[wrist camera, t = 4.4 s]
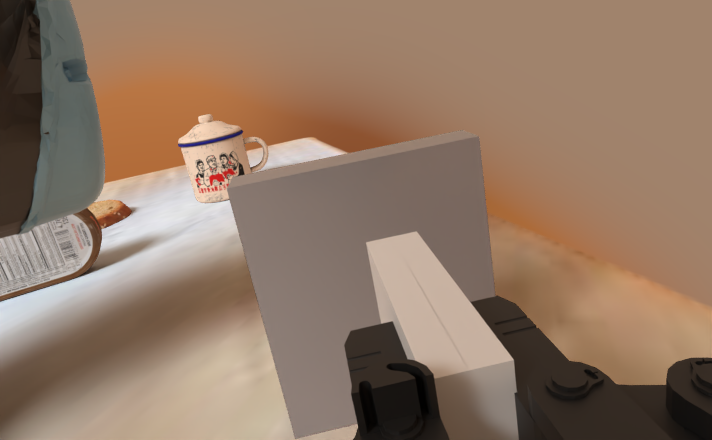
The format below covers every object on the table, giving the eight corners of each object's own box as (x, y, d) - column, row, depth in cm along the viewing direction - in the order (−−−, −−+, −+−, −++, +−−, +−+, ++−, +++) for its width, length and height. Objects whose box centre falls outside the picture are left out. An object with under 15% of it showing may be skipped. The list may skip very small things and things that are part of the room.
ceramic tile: (504, 388, 23) (479, 136, 19) (295, 438, 23) (226, 188, 19) (486, 361, 25) (460, 129, 22) (295, 406, 25) (233, 176, 21)
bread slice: (143, 210, 74) (135, 187, 73) (55, 260, 58) (43, 231, 57) (44, 224, 78) (35, 201, 77) (-64, 274, 62) (-78, 247, 60)
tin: (113, 260, 53) (85, 185, 50) (113, 268, 50) (84, 190, 47) (-55, 311, 47) (-96, 229, 44) (-65, 324, 44) (-109, 238, 42)
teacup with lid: (194, 209, 68) (168, 124, 64) (196, 195, 76) (173, 119, 72) (279, 188, 70) (260, 105, 67) (272, 176, 79) (254, 103, 75)
